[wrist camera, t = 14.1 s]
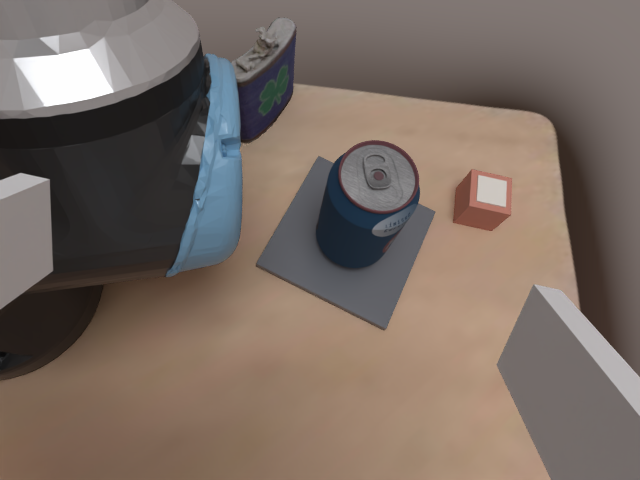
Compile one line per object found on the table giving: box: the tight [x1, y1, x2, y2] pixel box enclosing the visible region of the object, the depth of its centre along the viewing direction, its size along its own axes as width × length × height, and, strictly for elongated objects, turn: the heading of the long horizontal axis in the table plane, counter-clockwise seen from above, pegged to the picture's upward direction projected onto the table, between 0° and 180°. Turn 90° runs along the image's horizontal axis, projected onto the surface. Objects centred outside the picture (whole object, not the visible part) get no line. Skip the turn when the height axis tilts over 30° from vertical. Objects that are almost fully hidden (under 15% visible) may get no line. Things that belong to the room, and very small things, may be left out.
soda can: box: [316, 140, 420, 268], centre depth 36 cm, size 7×7×12 cm
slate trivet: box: [256, 156, 435, 330], centre depth 42 cm, size 13×13×1 cm
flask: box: [231, 18, 296, 143], centre depth 42 cm, size 9×3×11 cm, turn 147°
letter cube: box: [453, 169, 512, 231], centre depth 43 cm, size 4×4×4 cm
